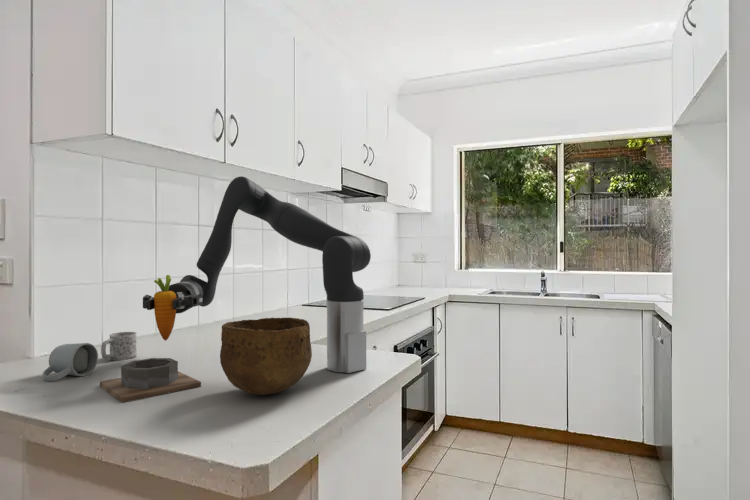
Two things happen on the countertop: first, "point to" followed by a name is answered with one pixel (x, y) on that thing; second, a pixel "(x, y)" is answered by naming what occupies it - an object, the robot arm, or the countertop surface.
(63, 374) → the ceramic mug
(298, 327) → the bowl
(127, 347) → the mug
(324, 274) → the robot arm
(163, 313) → the carrot
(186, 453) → the countertop surface
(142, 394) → the ring holder
